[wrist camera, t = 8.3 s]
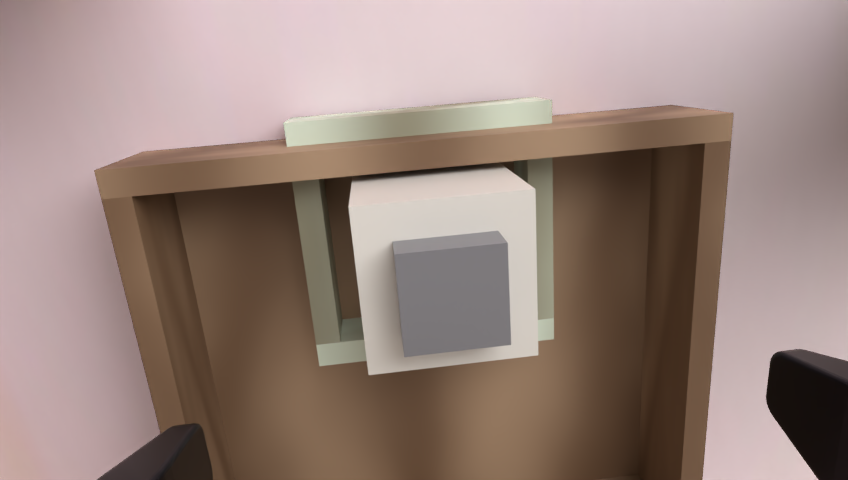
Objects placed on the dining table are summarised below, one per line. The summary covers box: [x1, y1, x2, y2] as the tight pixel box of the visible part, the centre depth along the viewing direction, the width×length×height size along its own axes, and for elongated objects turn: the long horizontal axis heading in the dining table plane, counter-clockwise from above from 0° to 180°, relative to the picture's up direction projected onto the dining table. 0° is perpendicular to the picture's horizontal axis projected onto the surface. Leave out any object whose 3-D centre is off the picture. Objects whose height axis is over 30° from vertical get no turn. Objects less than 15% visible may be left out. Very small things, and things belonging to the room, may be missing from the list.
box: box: [94, 97, 733, 480], centre depth 20 cm, size 18×17×4 cm
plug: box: [348, 162, 538, 375], centre depth 17 cm, size 4×4×7 cm
